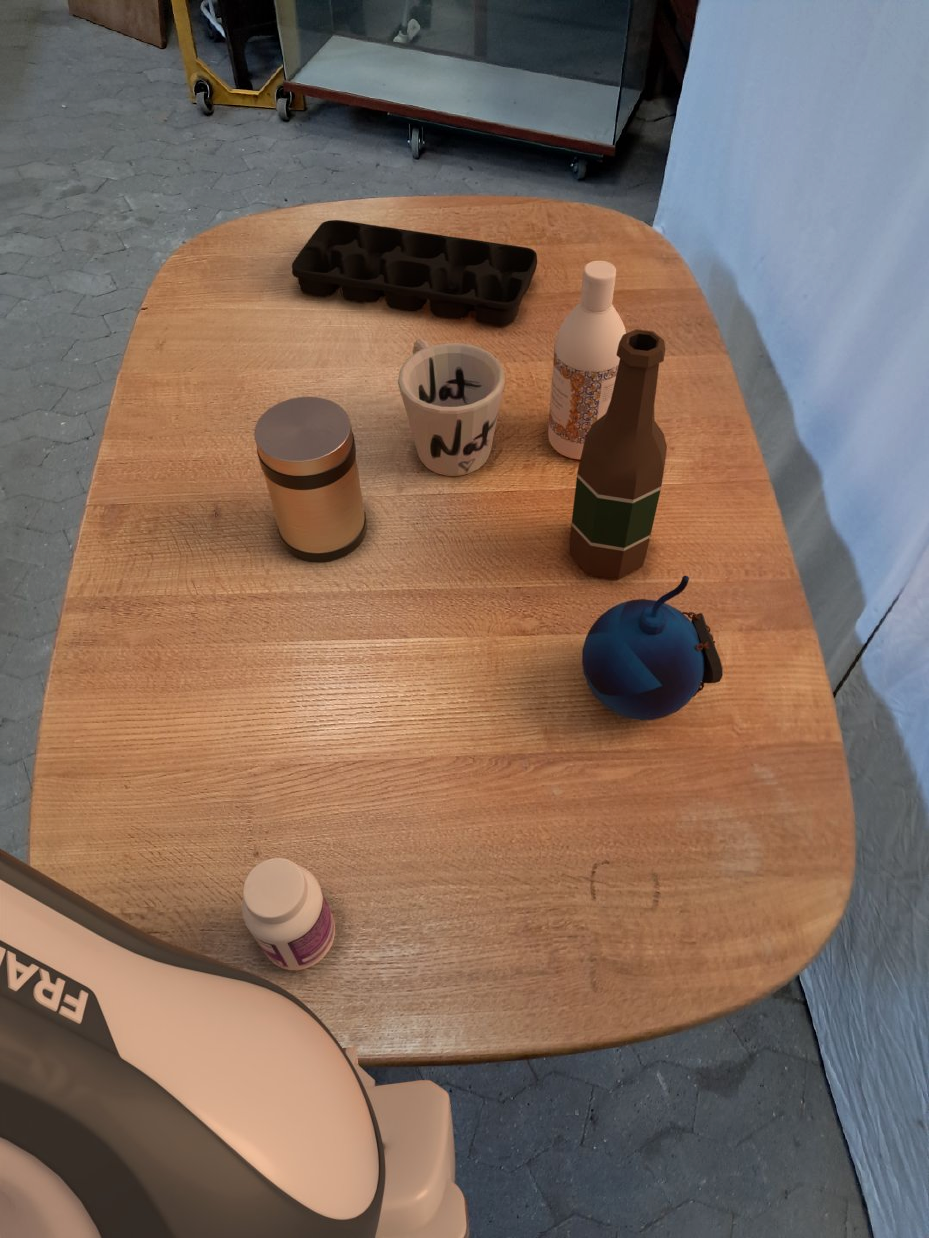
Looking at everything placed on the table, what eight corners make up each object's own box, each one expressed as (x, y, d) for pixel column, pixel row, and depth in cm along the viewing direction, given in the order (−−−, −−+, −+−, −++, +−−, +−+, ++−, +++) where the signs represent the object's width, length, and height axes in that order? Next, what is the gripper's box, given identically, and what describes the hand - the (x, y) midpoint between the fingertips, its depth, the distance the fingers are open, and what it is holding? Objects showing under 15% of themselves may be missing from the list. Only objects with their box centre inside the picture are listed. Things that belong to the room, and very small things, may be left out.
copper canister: (294, 573, 86) (268, 474, 76) (269, 513, 91) (241, 411, 80) (379, 545, 88) (365, 445, 77) (350, 487, 93) (333, 385, 82)
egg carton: (310, 243, 120) (305, 216, 117) (537, 249, 118) (539, 222, 115) (284, 324, 109) (279, 296, 106) (534, 332, 108) (535, 304, 105)
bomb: (720, 731, 75) (766, 624, 63) (592, 750, 74) (613, 644, 62) (685, 636, 81) (721, 521, 69) (566, 652, 80) (581, 539, 68)
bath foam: (536, 429, 97) (546, 259, 81) (592, 410, 99) (613, 240, 83) (567, 470, 94) (584, 300, 78) (625, 449, 95) (654, 279, 79)
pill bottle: (332, 891, 67) (313, 840, 60) (339, 964, 64) (319, 919, 57) (260, 904, 67) (230, 854, 59) (262, 978, 64) (232, 935, 56)
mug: (427, 499, 91) (422, 423, 83) (375, 410, 100) (365, 333, 92) (520, 468, 94) (524, 391, 86) (462, 384, 102) (460, 307, 94)
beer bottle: (593, 510, 90) (623, 297, 71) (662, 544, 87) (713, 332, 68) (551, 559, 87) (570, 348, 67) (622, 596, 84) (664, 387, 64)
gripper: (465, 1196, 33) (447, 989, 47) (-110, 1272, 32) (43, 1038, 46) (480, 1345, 34) (458, 1100, 48) (-78, 1425, 33) (63, 1151, 47)
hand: (252, 1070), depth 47 cm, fingers open, 8 cm apart
